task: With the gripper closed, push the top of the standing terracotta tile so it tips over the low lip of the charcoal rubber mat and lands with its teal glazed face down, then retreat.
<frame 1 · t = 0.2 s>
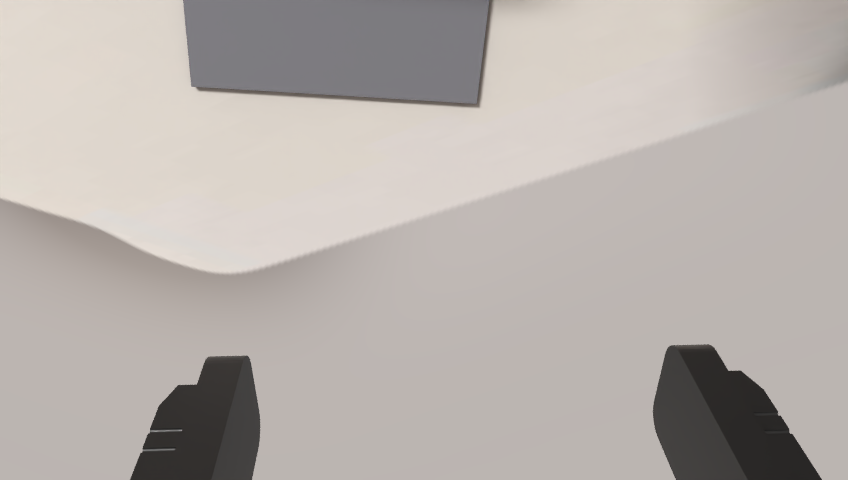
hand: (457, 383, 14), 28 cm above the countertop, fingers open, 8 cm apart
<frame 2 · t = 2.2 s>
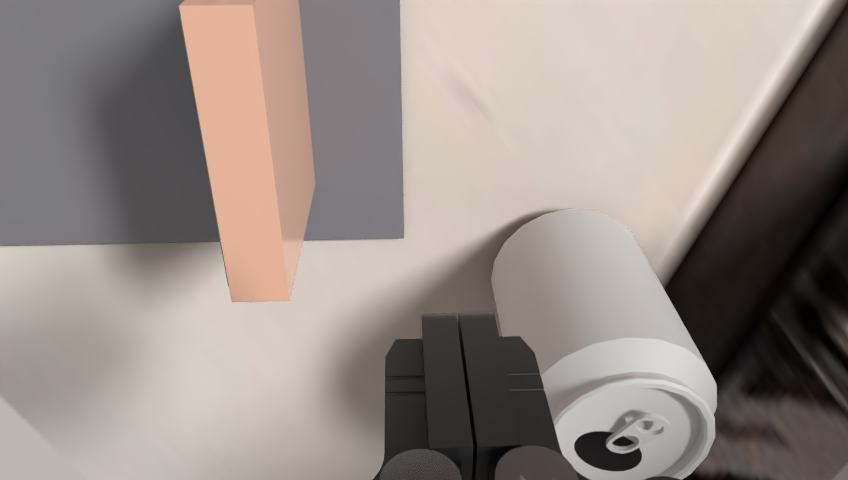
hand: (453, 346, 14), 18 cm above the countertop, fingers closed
can: (562, 262, 35), on the countertop
tile: (281, 77, 29), resting on mat
mat: (164, 76, 30), on the countertop
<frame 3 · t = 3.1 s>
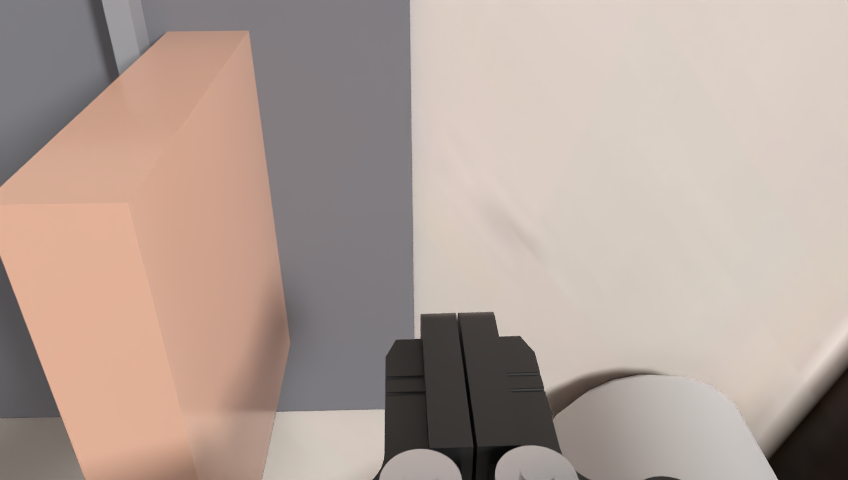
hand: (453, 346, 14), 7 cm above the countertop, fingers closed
can: (630, 430, 26), on the countertop
tile: (237, 208, 20), resting on mat
mat: (65, 204, 20), on the countertop
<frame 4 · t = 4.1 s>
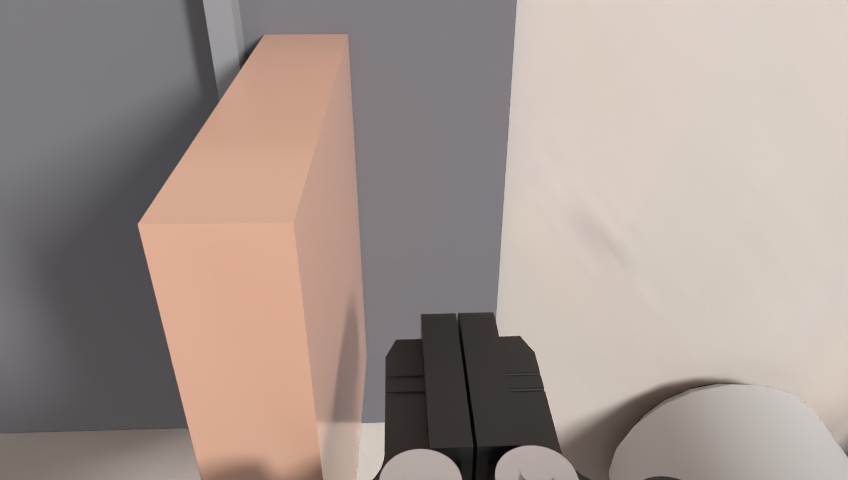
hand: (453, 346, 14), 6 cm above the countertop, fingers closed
can: (703, 439, 25), on the countertop
tile: (322, 216, 19), resting on mat, touching gripper
mat: (143, 212, 19), on the countertop
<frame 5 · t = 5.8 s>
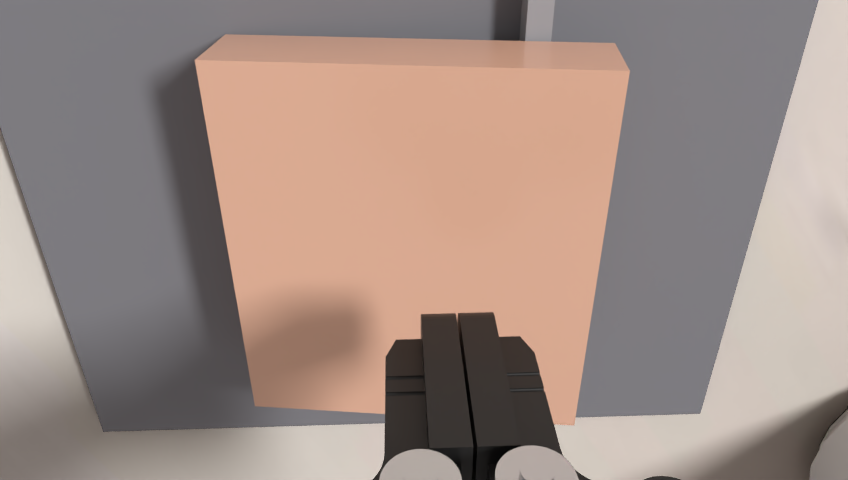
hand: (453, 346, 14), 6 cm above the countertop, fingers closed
tile: (592, 253, 18), point 3 cm above the countertop, tilted 97°, touching mat
mat: (401, 207, 20), on the countertop
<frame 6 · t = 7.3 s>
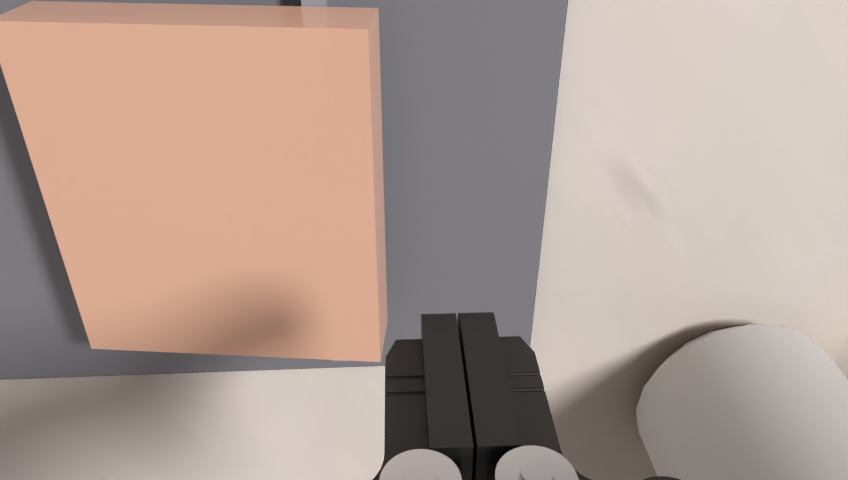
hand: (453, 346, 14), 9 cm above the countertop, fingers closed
can: (720, 380, 28), on the countertop
tile: (379, 201, 19), point 3 cm above the countertop, tilted 97°, touching mat
mat: (223, 164, 21), on the countertop
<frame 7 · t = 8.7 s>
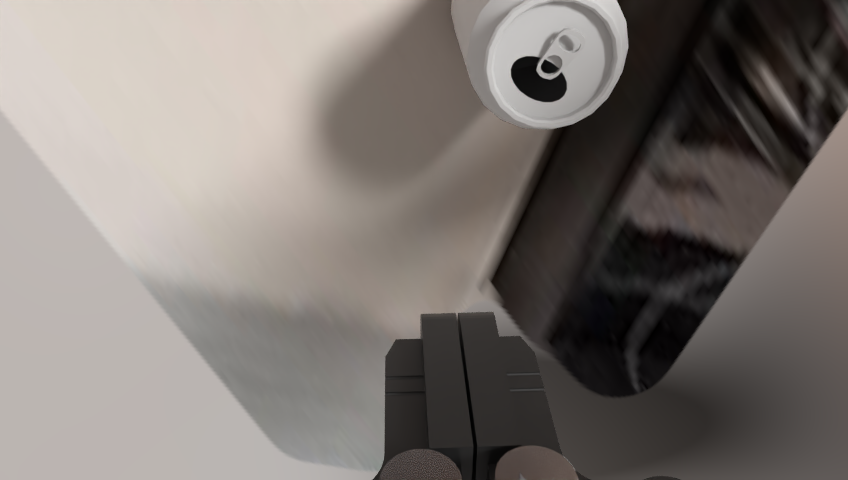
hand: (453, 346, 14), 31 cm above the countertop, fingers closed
can: (512, 1, 41), on the countertop
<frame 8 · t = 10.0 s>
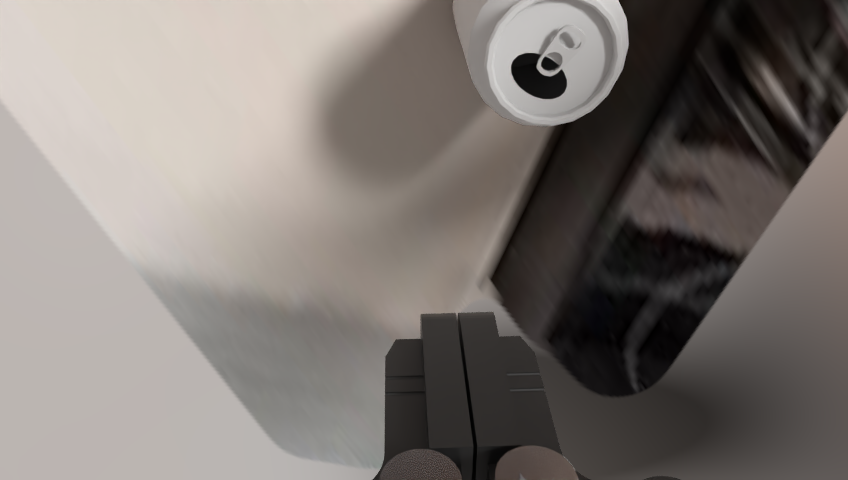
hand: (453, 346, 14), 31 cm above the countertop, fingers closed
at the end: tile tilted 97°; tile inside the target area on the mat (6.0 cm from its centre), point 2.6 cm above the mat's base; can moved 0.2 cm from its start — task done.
